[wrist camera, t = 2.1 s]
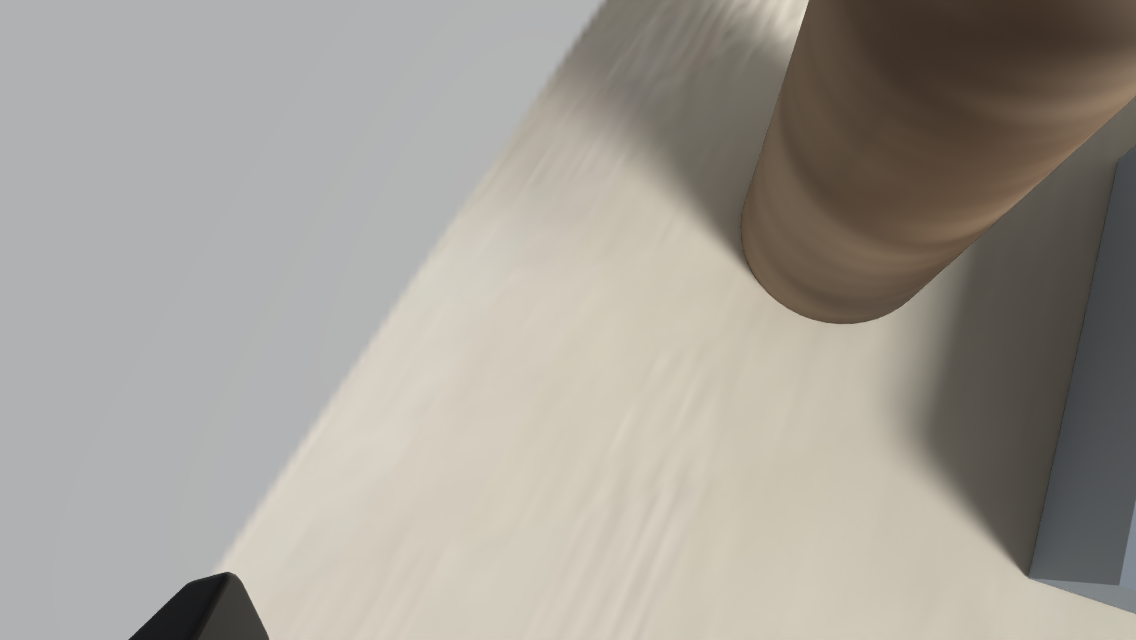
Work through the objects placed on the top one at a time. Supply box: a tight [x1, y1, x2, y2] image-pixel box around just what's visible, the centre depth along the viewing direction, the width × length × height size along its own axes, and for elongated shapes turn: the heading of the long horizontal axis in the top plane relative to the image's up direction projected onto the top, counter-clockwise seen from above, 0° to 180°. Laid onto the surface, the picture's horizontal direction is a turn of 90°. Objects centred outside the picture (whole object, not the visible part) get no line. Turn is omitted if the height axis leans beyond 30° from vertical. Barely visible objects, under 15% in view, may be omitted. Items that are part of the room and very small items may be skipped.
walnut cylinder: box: [741, 0, 1136, 324], centre depth 17 cm, size 5×5×13 cm
